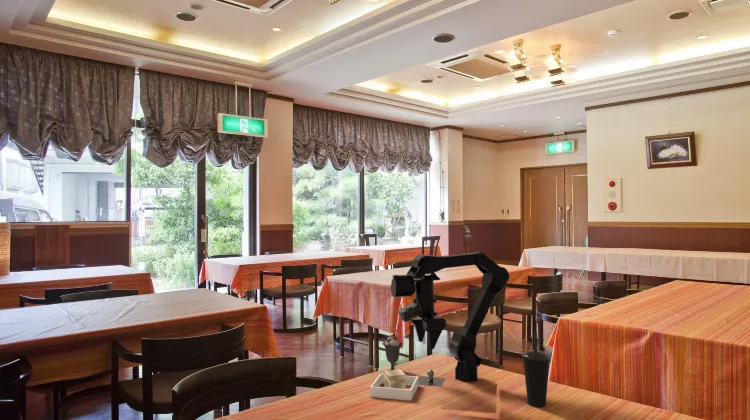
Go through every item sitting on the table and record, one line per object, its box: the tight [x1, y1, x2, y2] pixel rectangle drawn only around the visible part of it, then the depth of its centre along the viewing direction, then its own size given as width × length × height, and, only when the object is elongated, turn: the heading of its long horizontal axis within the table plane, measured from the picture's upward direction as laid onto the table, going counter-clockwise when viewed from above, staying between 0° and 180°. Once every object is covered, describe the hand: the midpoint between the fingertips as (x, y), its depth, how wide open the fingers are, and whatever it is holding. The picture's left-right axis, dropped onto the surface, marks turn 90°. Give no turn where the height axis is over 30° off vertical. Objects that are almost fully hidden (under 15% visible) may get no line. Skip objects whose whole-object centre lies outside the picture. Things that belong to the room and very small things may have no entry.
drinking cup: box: [521, 331, 551, 408], centre depth 134 cm, size 8×8×20 cm
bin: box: [369, 373, 420, 401], centre depth 141 cm, size 12×12×4 cm
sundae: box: [382, 329, 404, 370], centre depth 161 cm, size 7×7×15 cm
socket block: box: [383, 368, 407, 389], centre depth 141 cm, size 5×5×6 cm
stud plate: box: [418, 369, 446, 388], centre depth 149 cm, size 8×8×5 cm
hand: (426, 345), depth 148 cm, fingers open, 9 cm apart
